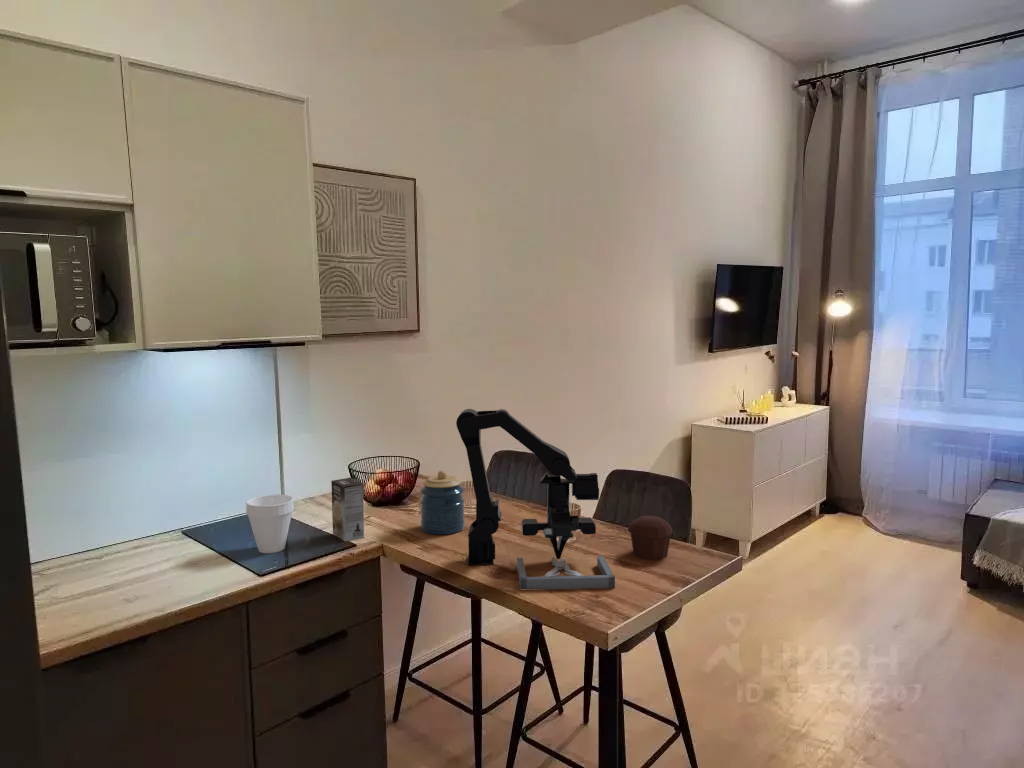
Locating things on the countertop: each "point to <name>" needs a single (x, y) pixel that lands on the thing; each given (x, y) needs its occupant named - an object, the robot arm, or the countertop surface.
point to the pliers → (559, 566)
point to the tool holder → (568, 579)
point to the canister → (442, 505)
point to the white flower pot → (270, 521)
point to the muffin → (650, 537)
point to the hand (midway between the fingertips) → (558, 558)
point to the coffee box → (347, 509)
